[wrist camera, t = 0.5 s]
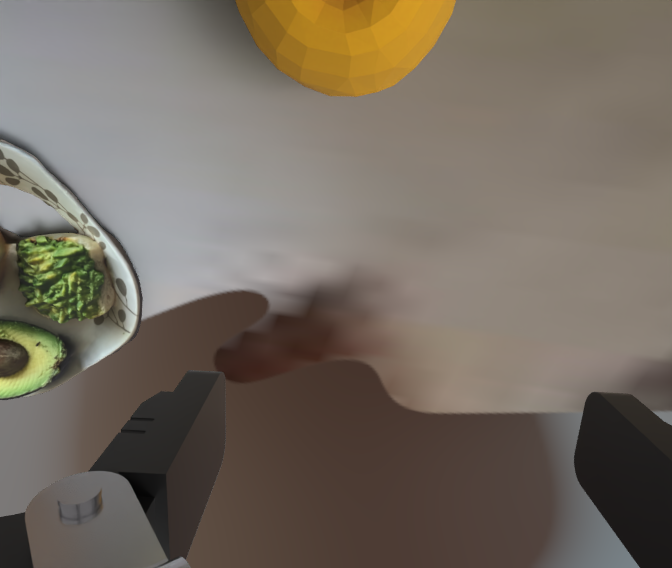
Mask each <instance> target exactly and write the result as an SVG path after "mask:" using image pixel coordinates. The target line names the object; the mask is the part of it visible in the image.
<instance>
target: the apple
mask: <svg viewBox="0 0 672 568" xmlns="http://www.w3.org/2000/svg"><path fill="white" fill-rule="evenodd" d="M235 1H236V4H237V7H238V10H239V12H240V14H241V16H242V18H243V20H244V22H245V24H246V26H247V28H248V30H249V32H250V33H251V35H252V37H253V39H254V41H255V43H256V45H257V46H258V47H259V49H260V50H261V51H262V52H263V53H264V54H265V55H266V56H267V57H268V59H269V60H270V61H271V62H272V63H273V64H274V65H275V66H276V68H277V69H278V70H280V71H282V72H283V73H285V74H286V75H288V76H289V77H291V78H292V79H294V80H295V81H297V82H298V83H300V84H302V85H303V86H305V87H308V88H310V89H313V90H316V91H318V92H321V93H323V94H326V95H329V96H354V97H357V96H361V95H365V94H370V93H375V92H378V91H381V90H383V89H386V88H388V87H391V86H394V85H395V84H396V83H397V82H398V81H400V80H401V79H402V78H403V77H405V76H406V75H407V74H408V73H409V72H411V71H412V70H413V69H414V68H415V67H416V66H417V65H418V64H419V63H420V61H421V60H422V59H423V58H424V57H425V56H426V54H427V53H428V52H429V51H430V50H431V49H432V48H433V46H434V45H435V43H436V41H437V39H438V38H439V36H440V34H441V32H442V31H443V29H444V27H445V25H446V23H447V22H448V20H449V18H450V16H451V15H452V12H453V8H454V5H455V2H456V0H235Z"/></svg>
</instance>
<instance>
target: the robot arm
mask: <svg viewBox="0 0 672 568" xmlns="http://www.w3.org/2000/svg"><path fill="white" fill-rule="evenodd" d="M225 404H226V402H225V376H224V373H223V372H211V371H193V370H189V371H188V372H187V373H186V374H185V376H184V377H183V379H182V380H181V382H180V383H179V385H178V386H177V387H176V389H175V390H174V392H162V391H161V392H160V393H158V394H156V395H154V396H153V397H151V398H149V399H148V400H146V401H145V402H143V403H142V404H141V405H140V406H139V408H138V409H137V410H136V411H135V413H134V414H133V415H132V417H131V419H130V420H129V421H128V422H127V423H126V424H125V425H124V427H123V428H122V429H121V433H118V434H117V435H116V437H115V438H114V439H113V441H112V442H111V443H110V444H109V446H108V447H107V448H106V449H105V451H104V452H103V453H102V455H101V456H100V457H99V459H98V460H97V461H96V462H95V464H94V465H93V466H92V467H91V469H90V470H89V471H88V472H84V473H79V474H75V475H71V476H69V477H66V478H63V479H61V480H59V481H57V482H55V483H53V484H51V485H50V486H48V487H46V488H45V489H43V490H42V491H41V492H40V493H38V494H37V495H36V496H35V497H34V498H33V500H32V501H31V502H30V504H29V505H28V507H27V509H26V512H24V513H20V514H15V515H10V516H4V517H0V568H191V567H190V566H189V564H188V562H187V561H186V558H187V555H188V552H189V550H190V547H191V545H192V542H193V539H194V537H195V534H196V531H197V529H198V526H199V523H200V521H201V518H202V515H203V513H204V510H205V507H206V505H207V502H208V499H209V497H210V494H211V491H212V489H213V486H214V484H215V481H216V478H217V475H218V473H219V470H220V467H221V464H222V461H223V456H224V450H225V441H226V440H225V439H226V413H225V412H226V407H225V406H226V405H225ZM574 467H575V473H576V476H577V479H578V481H579V483H580V485H581V486H582V488H583V489H584V491H585V492H586V493H587V495H588V496H589V497H590V499H591V500H592V502H593V503H594V505H595V506H596V507H597V509H598V510H599V512H600V513H601V514H602V516H603V517H604V518H605V520H606V521H607V523H608V524H609V525H610V527H611V528H612V530H613V531H614V532H615V533H616V535H617V537H618V538H619V539H620V540H621V542H622V543H623V545H624V546H625V548H626V549H627V550H628V552H629V553H630V555H631V556H632V557H633V559H634V560H635V561H636V563H637V564H638V566H639V567H640V568H672V426H671V425H669V424H667V423H666V422H664V421H663V420H661V419H660V418H659V417H658V416H657V415H655V414H654V413H653V412H652V411H651V410H650V409H648V408H647V407H646V406H645V405H644V404H642V403H641V402H640V401H639V400H638V399H636V398H635V397H634V396H632V395H631V394H623V393H604V392H592V393H591V394H590V395H589V396H588V397H587V399H586V402H585V406H584V411H583V416H582V420H581V425H580V430H579V435H578V440H577V444H576V449H575V455H574Z"/></svg>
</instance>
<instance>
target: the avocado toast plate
mask: <svg viewBox="0 0 672 568" xmlns="http://www.w3.org/2000/svg"><path fill="white" fill-rule="evenodd" d="M0 184H2V185H8V186H11V187H15V188H17V189H19V190H22V191H25V192H27V193H30V194H33V195H34V196H36V197H38V198H40V199H41V200H43V201H44V202H45V203H46V204H47V205H49V206H52V207H53V208H54V209H55V210H56V211H57V212H58V213H59V214H60V215H61V216H62V217H63V218H64V219H66V220H67V221H68V222H69V223H70V224H71V225H72V226H73V227H74V228H75V229H76V230H77V231H78V234H75V233H57V234H47V235H38V236H33V237H24V238H23V237H20V236H18V235H17V234H14V233H12V232H10V231H8V230H6V229H3V228H2V227H1V226H0V400H8V399H14V398H19V397H26V396H33V395H36V394H40V393H44V392H47V391H49V390H52V389H54V388H56V387H58V386H60V385H62V384H64V383H65V382H67V381H68V380H70V379H71V378H73V377H75V376H76V375H78V374H80V373H81V372H83V371H84V370H86V369H87V368H89V367H90V366H92V365H94V364H96V363H97V362H99V361H100V360H102V359H103V358H105V357H107V356H109V355H111V354H113V353H115V352H117V351H119V350H120V349H121V348H122V347H123V346H124V345H125V344H127V343H129V342H130V341H132V339H134V338H135V336H136V335H137V333H138V331H139V327H140V323H141V317H142V299H143V297H142V293H141V287H140V282H139V279H138V276H137V274H136V272H135V270H134V268H133V266H132V263H131V261H130V259H129V257H128V255H127V254H126V252H125V251H124V249H123V248H122V246H121V245H120V243H119V242H118V241H117V239H115V238H114V237H113V236H112V235H111V234H110V233H108V232H107V231H106V230H104V229H103V228H102V227H101V226H100V225H99V224H98V222H97V221H96V220H95V219H94V218H93V217H92V216H91V215H90V214H89V212H88V211H87V210H86V208H85V207H84V206H83V205H82V204H81V203H80V201H79V200H78V199H77V197H76V196H75V195H74V194H73V193H72V192H71V191H70V190H69V189H68V188H67V187H66V186H65V185H63V184H62V183H61V182H60V181H59V180H58V179H57V178H56V177H55V176H54V175H53V174H51V173H50V172H49V171H48V170H47V169H46V168H45V167H44V166H43V165H42V163H41V162H40V161H39V160H38V159H37V158H36V157H35V156H34V155H32V154H30V153H28V152H27V151H25V150H23V149H21V148H19V147H17V146H15V145H13V144H11V143H9V142H7V141H5V140H2V139H0Z"/></svg>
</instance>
